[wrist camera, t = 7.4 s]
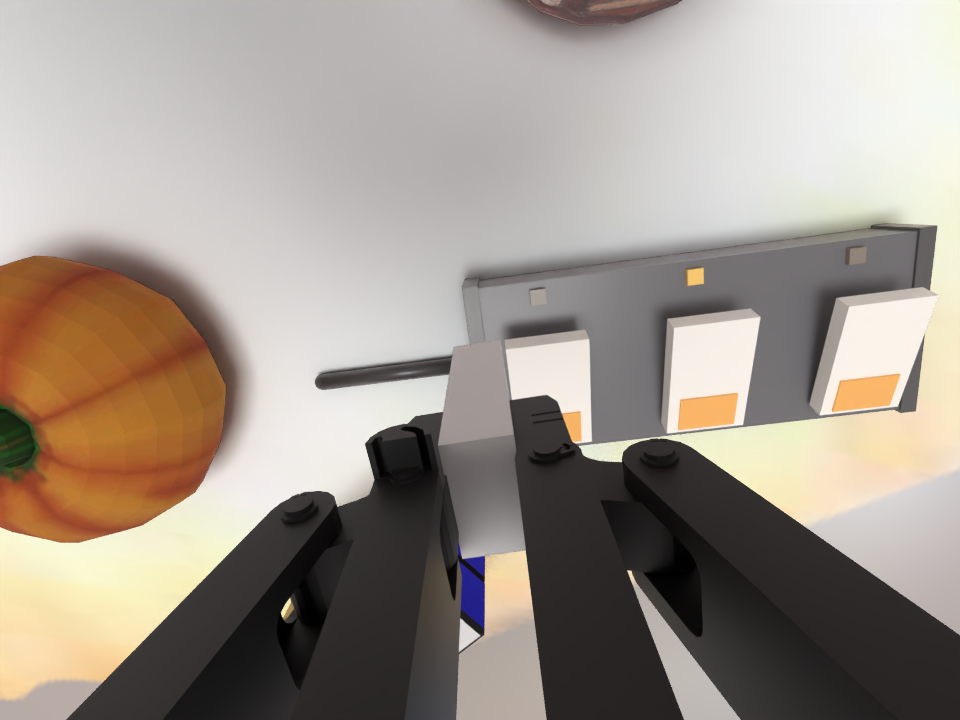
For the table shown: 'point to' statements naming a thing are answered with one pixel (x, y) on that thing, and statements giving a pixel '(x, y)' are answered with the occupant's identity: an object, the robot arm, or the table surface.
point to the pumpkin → (98, 401)
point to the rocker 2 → (708, 370)
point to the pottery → (600, 10)
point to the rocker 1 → (555, 375)
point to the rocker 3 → (871, 350)
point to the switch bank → (687, 292)
